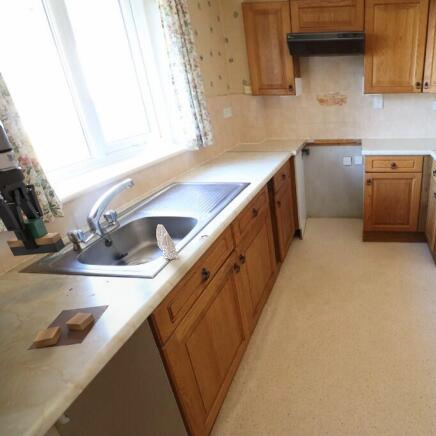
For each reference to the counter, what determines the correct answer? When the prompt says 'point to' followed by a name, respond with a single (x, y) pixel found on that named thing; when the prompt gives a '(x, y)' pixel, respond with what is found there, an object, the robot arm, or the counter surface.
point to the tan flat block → (47, 337)
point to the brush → (37, 240)
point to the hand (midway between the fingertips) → (37, 245)
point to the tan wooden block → (80, 321)
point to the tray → (73, 335)
